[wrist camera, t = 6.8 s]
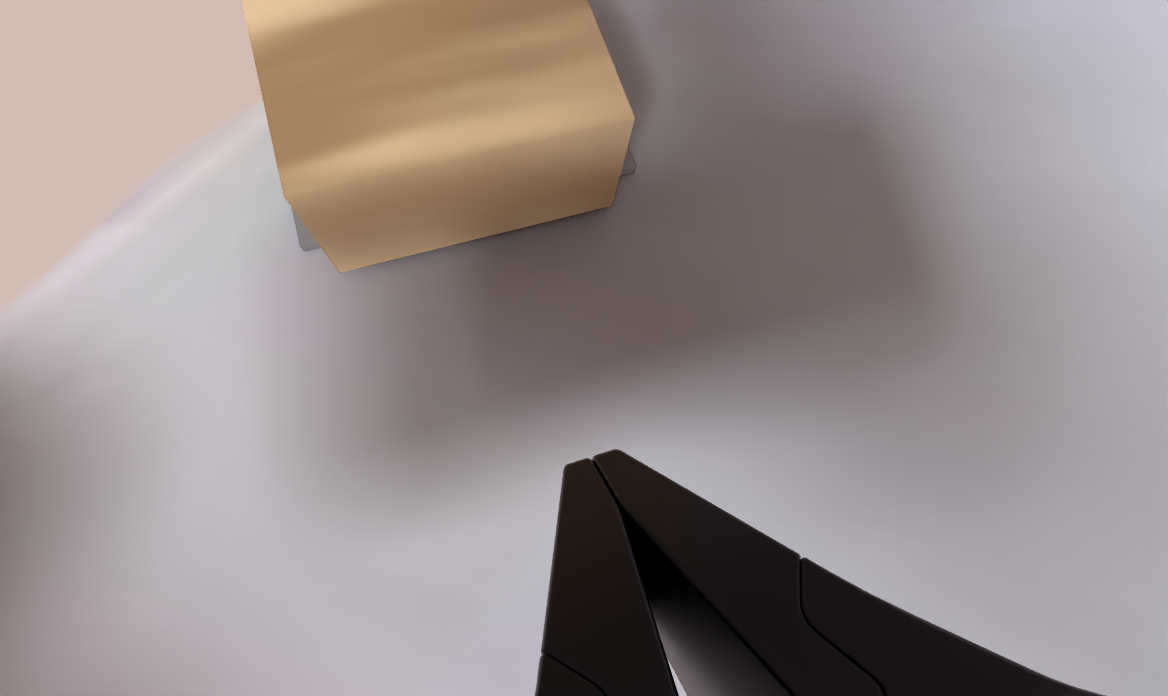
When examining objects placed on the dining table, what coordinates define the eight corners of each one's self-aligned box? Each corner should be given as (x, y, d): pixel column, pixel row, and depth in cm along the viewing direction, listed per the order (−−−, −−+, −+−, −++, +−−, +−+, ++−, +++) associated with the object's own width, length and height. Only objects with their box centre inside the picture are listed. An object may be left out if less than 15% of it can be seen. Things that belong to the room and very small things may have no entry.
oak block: (635, 117, 14) (514, -184, 17) (283, 195, 13) (210, -145, 15) (612, 205, 18) (517, -51, 20) (339, 272, 17) (273, -11, 19)
